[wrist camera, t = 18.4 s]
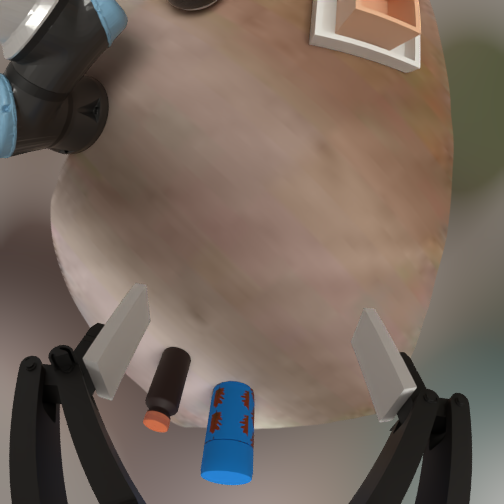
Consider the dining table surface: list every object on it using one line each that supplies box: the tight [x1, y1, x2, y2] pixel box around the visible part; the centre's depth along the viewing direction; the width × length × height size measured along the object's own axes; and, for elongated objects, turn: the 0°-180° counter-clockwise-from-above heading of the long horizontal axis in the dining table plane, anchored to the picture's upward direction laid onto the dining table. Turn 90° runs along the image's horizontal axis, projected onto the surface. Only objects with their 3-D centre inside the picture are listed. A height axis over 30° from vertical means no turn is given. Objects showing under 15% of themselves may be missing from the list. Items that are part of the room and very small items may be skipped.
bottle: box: [143, 348, 191, 432], centre depth 50 cm, size 7×7×20 cm
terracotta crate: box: [335, 0, 421, 51], centre depth 25 cm, size 10×12×11 cm
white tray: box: [309, 0, 420, 73], centre depth 28 cm, size 18×18×5 cm
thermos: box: [201, 381, 254, 485], centre depth 53 cm, size 11×11×25 cm
